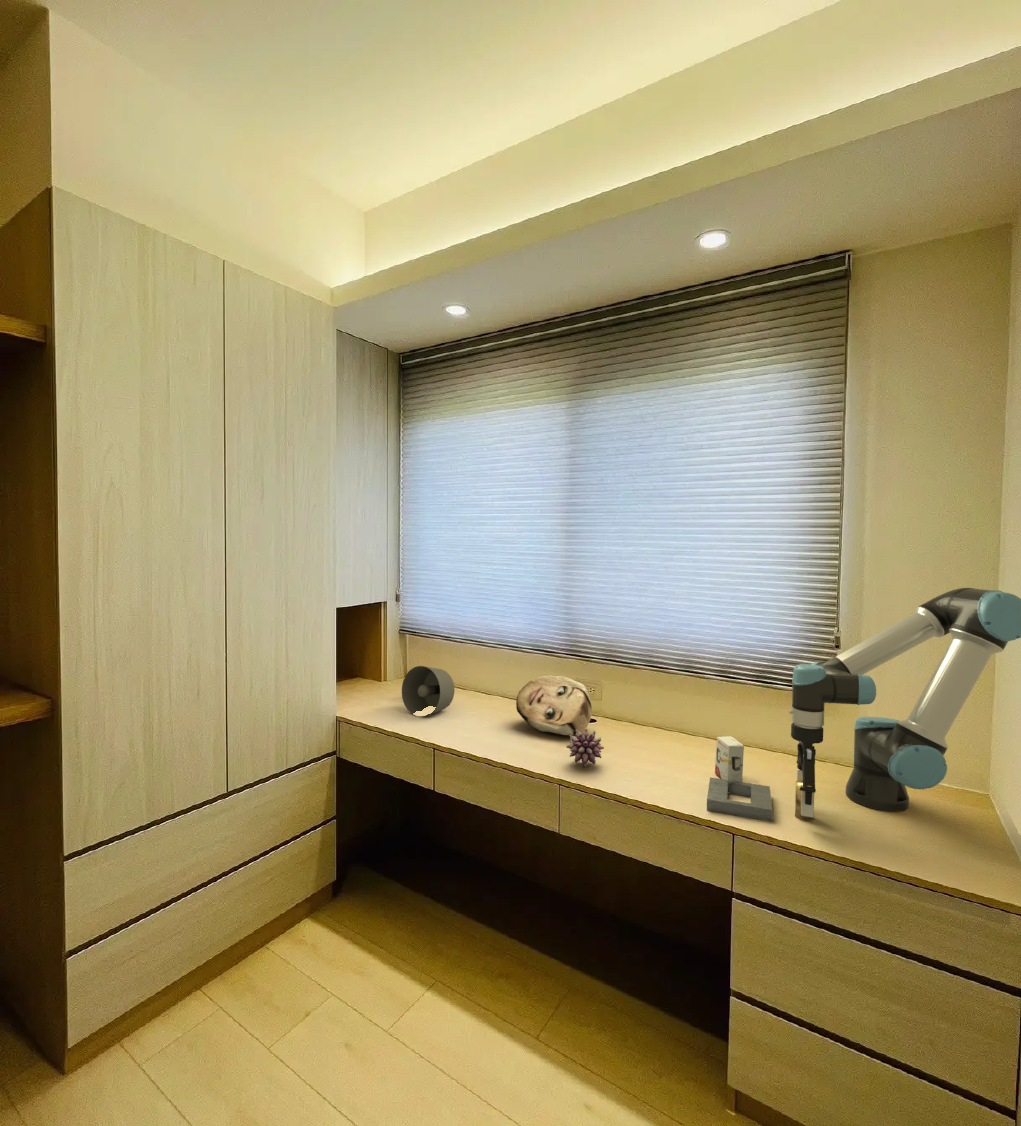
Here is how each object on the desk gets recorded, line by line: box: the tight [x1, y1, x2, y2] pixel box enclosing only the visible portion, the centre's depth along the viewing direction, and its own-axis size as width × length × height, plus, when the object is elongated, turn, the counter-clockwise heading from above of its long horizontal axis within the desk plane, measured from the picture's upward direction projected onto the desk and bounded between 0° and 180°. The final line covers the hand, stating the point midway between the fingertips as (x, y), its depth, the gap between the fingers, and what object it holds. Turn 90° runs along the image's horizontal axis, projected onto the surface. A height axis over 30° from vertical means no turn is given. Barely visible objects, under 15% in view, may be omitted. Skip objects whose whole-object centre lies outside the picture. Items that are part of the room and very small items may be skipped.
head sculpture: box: [515, 674, 593, 736], centre depth 225 cm, size 23×17×28 cm
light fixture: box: [401, 665, 455, 718], centre depth 251 cm, size 20×25×27 cm
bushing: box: [794, 779, 815, 822], centre depth 154 cm, size 4×4×9 cm
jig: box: [706, 777, 773, 822], centre depth 161 cm, size 16×16×3 cm
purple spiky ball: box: [566, 727, 605, 768], centre depth 187 cm, size 12×12×12 cm
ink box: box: [714, 735, 745, 782], centre depth 178 cm, size 9×5×12 cm, turn 6°
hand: (804, 805), depth 154 cm, fingers open, 13 cm apart
